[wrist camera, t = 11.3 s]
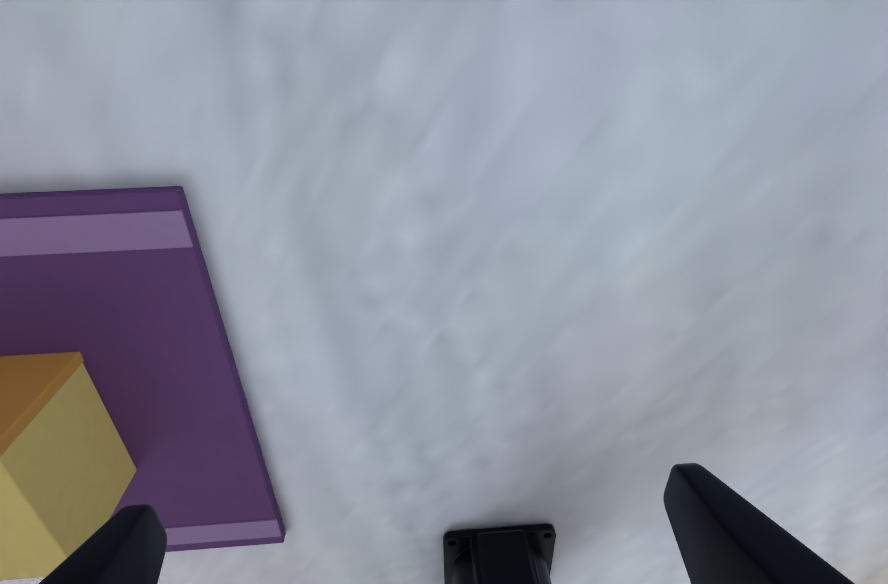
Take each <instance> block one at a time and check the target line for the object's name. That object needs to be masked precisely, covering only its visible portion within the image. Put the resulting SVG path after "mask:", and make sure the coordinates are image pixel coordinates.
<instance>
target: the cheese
mask: <svg viewBox="0 0 888 584" xmlns="http://www.w3.org/2000/svg"><path fill="white" fill-rule="evenodd" d="M83 362H84V359H83V357H82V355H81V353H80V352H64V353H47V354H30V355H13V356H0V580H12V579H24V578H36V577H47V576H48V575H49V574H50V573H51V572H52V571H53V570H54V569H55V568H56V567H57V566H59V565H60V564H61V563H62V562H63V561H64V560H65V559H66V558H67V557H68V556H70V555H71V554H72V553H73V552H74V551H75V550H76V549H77V548H78V547H79V546H81V545H82V544H83V543H84V542H85V541H86V540H87V539H88V538H89V537H90V536H91V535H93V534H94V533H95V532H96V531H97V530H98V529H99V528H100V527H101V526H102V525H104V524H105V523H106V522H107V521H108V520H109V519H110V517H111V515H112V513H113V512H114V510H115V508H116V506H117V504H118V503H119V501H120V499H121V497H122V495H123V494H124V492H125V490H126V488H127V487H128V485H129V483H130V481H131V479H132V478H133V476H134V474H135V472H136V470H137V469H136V467H135V465H134V463H133V461H132V459H131V457H130V455H129V453H128V451H127V449H126V447H125V445H124V443H123V441H122V439H121V437H120V435H119V433H118V431H117V429H116V427H115V425H114V423H113V421H112V419H111V417H110V415H109V413H108V411H107V409H106V407H105V406H104V404H103V402H102V400H101V398H100V396H99V394H98V392H97V390H96V388H95V386H94V384H93V382H92V380H91V378H90V376H89V374H88V372H87V370H86V368H85V366H84V364H83Z"/></svg>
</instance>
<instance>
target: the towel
mask: <svg viewBox="0 0 888 584" xmlns="http://www.w3.org/2000/svg"><path fill="white" fill-rule="evenodd" d="M64 352H80V353H81V355H82V357H83V359H84V362H83V364H84V366H85V368H86V370H87V372H88V374H89V376H90V378H91V380H92V382H93V384H94V386H95V388H96V390H97V392H98V394H99V396H100V398H101V400H102V402H103V404H104V406H105V407H106V409H107V411H108V413H109V415H110V417H111V419H112V421H113V423H114V425H115V427H116V429H117V431H118V433H119V435H120V437H121V439H122V441H123V443H124V445H125V447H126V449H127V451H128V453H129V455H130V457H131V459H132V461H133V463H134V465H135V467H136V469H137V470H136V472H135V474H134V476H133V478H132V479H131V481H130V483H129V485H128V487H127V488H126V490H125V492H124V494H123V495H122V497H121V499H120V501H119V503H118V504H117V506H116V508H115V510H114V512H113V513H112V515H111V517H112V516H113V515H115V514H116V513H117V512H118V511H119V510H120V509H122V508H123V507H126V506H129V505H141V504H150V505H151V506H153V507H154V509H155V511H156V513H157V515H158V517H159V519H160V521H161V523H162V525H163V527H164V529H165V531H166V534H167V547H166V552H171V551H183V550H196V549H208V548H221V547H233V546H246V545H258V544H271V543H283V542H284V538H285V534H286V533H285V530H284V526H283V523H282V520H281V516H280V513H279V510H278V506H277V503H276V500H275V496H274V493H273V489H272V486H271V483H270V479H269V476H268V473H267V469H266V466H265V463H264V459H263V456H262V453H261V449H260V446H259V443H258V439H257V436H256V433H255V429H254V426H253V423H252V419H251V416H250V412H249V409H248V406H247V402H246V399H245V396H244V392H243V389H242V386H241V382H240V379H239V376H238V372H237V369H236V366H235V362H234V359H233V356H232V352H231V349H230V346H229V342H228V339H227V336H226V332H225V329H224V325H223V322H222V319H221V315H220V312H219V309H218V305H217V302H216V299H215V295H214V292H213V289H212V285H211V282H210V279H209V275H208V272H207V269H206V265H205V262H204V259H203V255H202V252H201V248H200V245H199V242H198V238H197V235H196V232H195V228H194V225H193V222H192V218H191V215H190V212H189V208H188V205H187V202H186V198H185V195H184V192H183V188H182V187H181V186H173V187H150V188H126V189H103V190H80V191H57V192H33V193H10V194H0V356H13V355H30V354H47V353H64ZM111 517H110V518H111Z"/></svg>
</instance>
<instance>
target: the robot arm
mask: <svg viewBox="0 0 888 584" xmlns="http://www.w3.org/2000/svg"><path fill="white" fill-rule="evenodd" d="M664 505H665V509H666V512H667V515H668V518H669V520H670V523H671V526H672V529H673V532H674V535H675V538H676V541H677V544H678V547H679V549H680V552H681V555H682V558H683V561H684V564H685V567H686V570H687V573H688V576H689V578H690V581H691V584H854V583H853V582H852V581H850V580H849V579H848V578H847V577H845V576H844V575H843V574H841V573H840V572H839V571H837V570H836V569H835V568H834V567H832V566H831V565H830V564H828V563H827V562H826V561H825V560H823V559H822V558H821V557H819V556H818V555H817V554H815V553H814V552H813V551H812V550H810V549H809V548H808V547H806V546H805V545H804V544H802V543H801V542H800V541H799V540H797V539H796V538H795V537H793V536H792V535H791V534H789V533H788V532H787V531H786V530H784V529H783V528H782V527H780V526H779V525H778V524H777V523H775V522H774V521H773V520H771V519H770V518H769V517H767V516H766V515H765V514H764V513H762V512H761V511H760V510H758V509H757V508H756V507H754V506H753V505H752V504H751V503H749V502H748V501H747V500H745V499H744V498H743V497H742V496H740V495H739V494H738V493H736V492H735V491H734V490H732V489H731V488H730V487H729V486H727V485H726V484H725V483H723V482H722V481H721V480H719V479H718V478H717V477H716V476H714V475H713V474H712V473H710V472H709V471H708V470H707V469H705V468H704V467H702V466H701V465H699V464H696V463H686V464H676V465H674V466H673V467H672V469H671V472H670V475H669V479H668V482H667V485H666V488H665V492H664ZM555 537H556V533H555V529H554V526H553V525H551V524H537V525H525V526H512V527H500V528H487V529H475V530H462V531H451V532H447V533H445V534H444V536H443V550H444V577H445V584H552V583H551V579H550V570H551V564H552V557H553V551H554V544H555ZM166 547H167V534H166V531H165V529H164V527H163V525H162V523H161V521H160V519H159V517H158V515H157V513H156V511H155V509H154V507H153V506H151V505H150V504H141V505H129V506H126V507H123V508H122V509H120V510H119V511H118V512H117V513H116V514H115V515H113V516H112V517H111V518H110V519H109V520H108V521H107V522H106V523H105V524H104V525H102V526H101V527H100V528H99V529H98V530H97V531H96V532H95V533H94V534H93V535H91V536H90V537H89V538H88V539H87V540H86V541H85V542H84V543H83V544H82V545H81V546H79V547H78V548H77V549H76V550H75V551H74V552H73V553H72V554H71V555H70V556H68V557H67V558H66V559H65V560H64V561H63V562H62V563H61V564H60V565H59V566H57V567H56V568H55V569H54V570H53V571H52V572H51V573H50V574H49V575H48V576H47V577H45V578H44V579H43V580H42V581H41V582H40V583H39V584H157V583H158V579H159V575H160V571H161V567H162V563H163V560H164V556H165V552H166Z"/></svg>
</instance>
